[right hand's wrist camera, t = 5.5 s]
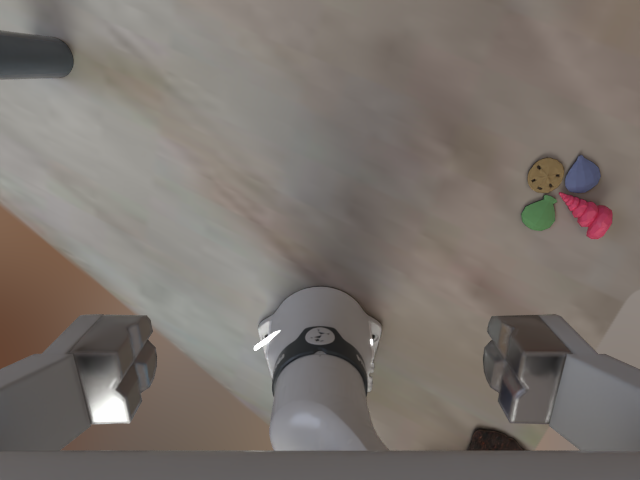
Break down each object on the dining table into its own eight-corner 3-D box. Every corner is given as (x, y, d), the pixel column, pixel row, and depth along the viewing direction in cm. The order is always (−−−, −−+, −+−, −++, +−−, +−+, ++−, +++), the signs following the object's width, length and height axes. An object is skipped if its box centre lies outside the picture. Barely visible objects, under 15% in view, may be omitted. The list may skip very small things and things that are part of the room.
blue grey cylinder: (50, 84, 53) (-54, 89, 39) (26, 47, 52) (-91, 37, 37) (81, 68, 53) (-13, 67, 38) (58, 29, 51) (-49, 13, 36)
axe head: (485, 421, 70) (556, 480, 70) (472, 399, 78) (535, 452, 78) (409, 500, 72) (478, 557, 72) (403, 470, 80) (465, 522, 80)
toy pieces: (624, 167, 57) (647, 175, 53) (583, 243, 61) (602, 255, 57) (541, 142, 56) (559, 148, 52) (505, 221, 60) (518, 232, 56)
